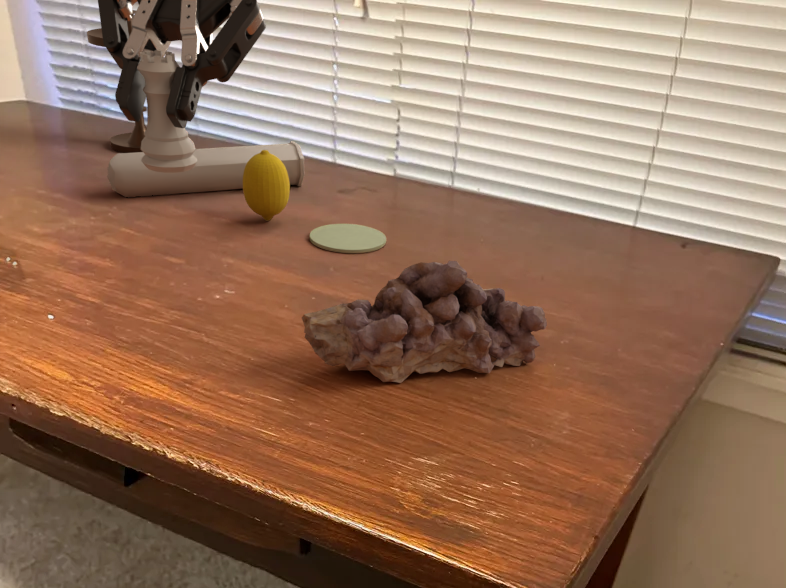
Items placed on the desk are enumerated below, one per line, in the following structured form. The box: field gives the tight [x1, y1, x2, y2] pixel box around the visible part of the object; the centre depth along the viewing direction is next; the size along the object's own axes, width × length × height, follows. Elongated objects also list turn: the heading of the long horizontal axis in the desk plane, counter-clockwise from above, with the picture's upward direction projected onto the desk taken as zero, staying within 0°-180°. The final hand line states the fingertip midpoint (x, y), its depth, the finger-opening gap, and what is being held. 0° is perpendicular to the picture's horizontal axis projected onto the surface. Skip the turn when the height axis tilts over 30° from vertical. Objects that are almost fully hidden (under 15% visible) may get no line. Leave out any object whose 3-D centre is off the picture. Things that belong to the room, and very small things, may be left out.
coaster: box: [309, 223, 387, 254], centre depth 95 cm, size 9×9×1 cm
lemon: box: [242, 150, 291, 222], centre depth 96 cm, size 6×6×8 cm
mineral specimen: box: [301, 260, 548, 384], centre depth 69 cm, size 20×10×10 cm
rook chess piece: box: [137, 50, 197, 173], centre depth 64 cm, size 4×4×8 cm
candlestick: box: [86, 9, 147, 153], centre depth 110 cm, size 11×11×35 cm
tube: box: [106, 140, 305, 198], centre depth 106 cm, size 5×5×25 cm
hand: (152, 117), depth 62 cm, fingers closed on rook chess piece, 3 cm apart
